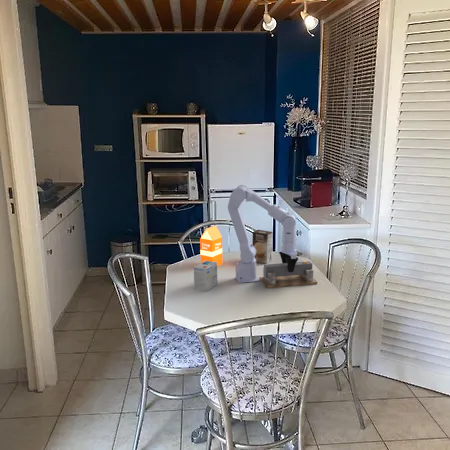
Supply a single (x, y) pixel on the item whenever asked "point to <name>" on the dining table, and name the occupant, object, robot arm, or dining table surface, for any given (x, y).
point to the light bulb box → (205, 275)
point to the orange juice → (211, 245)
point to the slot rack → (288, 280)
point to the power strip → (283, 269)
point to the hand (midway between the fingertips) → (288, 269)
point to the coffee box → (263, 245)
